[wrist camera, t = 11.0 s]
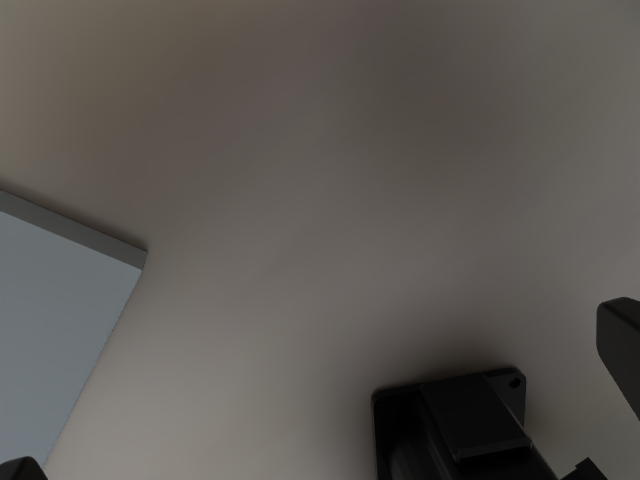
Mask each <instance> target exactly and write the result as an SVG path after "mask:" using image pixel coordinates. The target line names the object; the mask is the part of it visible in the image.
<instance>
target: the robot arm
mask: <svg viewBox="0 0 640 480" xmlns="http://www.w3.org/2000/svg"><path fill="white" fill-rule="evenodd" d="M596 345H597V350H598V353H599V356H600V358H601V360H602V361H603V363H604V365H605V366H606V368H607V369H608V371H609V373H610V374H611V376H612V377H613V379H614V381H615V382H616V384H617V385H618V387H619V389H620V390H621V392H622V393H623V395H624V397H625V398H626V400H627V401H628V403H629V404H630V406H631V408H632V409H633V411H634V412H635V414H636V416H637V417H638V419H639V420H640V301H637V300H634V299H631V298H627V297H620V298H616V299H612V300H609V301H605V302H602V303H601V304H599V306H598V308H597V324H596ZM514 378H516V379H515V380H514V381H513V382H511V383H509V382H510V381H511V380H512V379H514ZM525 395H526V377H525V376H524V375H523V374H522V372H521V371H520V370H519V369H517V368H506V369H500V370H494V371H489V372H483V373H477V374H471V375H465V376H460V377H454V378H448V379H442V380H437V381H431V382H426V383H420V384H415V385H409V386H403V387H398V388H392V389H386V390H381V391H379V392H377V393H375V394H374V395H373V397H372V399H371V412H372V427H373V442H374V457H375V472H376V480H559V479H558V477H557V476H556V475H555V473H554V472H553V471H552V469H551V468H550V466H549V465H548V464H547V462H546V461H545V459H544V458H543V457H542V455H541V454H540V452H539V451H538V450H537V448H536V447H535V445H534V444H533V443H532V440H531V437H530V436H529V435H528V433H527V432H526V431H525V429H524V413H525ZM384 401H388V403H387V404H386V405H380V404H381V403H382V402H384ZM575 467H576V468H577V469H575V470H574V471H572V472H571V473H569V474H568V475H566V476H565V477H563V478H562V479H560V480H608V479H607V478H606V477H605V476H604V475H603V474H602V472H601V471H600V470H599V469H598V468H597V467H596V465H595V464H594V463H593V462H592V461H591V460H590V458H589V457H587V458H586V459H584V460H583V461H582V462H580V463H579V464H577V465H576V466H575ZM0 480H48V478H47V477H46V475H45V474H44V472H43V470H42V469H41V467H40V465H39V464H38V462H37V461H36V460H35V459H34V458H33V457H31V456H24V457H20V458H16V459H13V460H9V461H6V462H3V463H2V464H0Z"/></svg>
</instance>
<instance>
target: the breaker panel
mask: <svg viewBox="0 0 640 480" xmlns="http://www.w3.org/2000/svg"><path fill="white" fill-rule="evenodd" d="M147 253H148V252H146V251H143V250H141V249H139V248H136V247H134V246H132V245H129V244H127V243H125V242H122V241H120V240H118V239H115V238H113V237H110V236H108V235H106V234H103V233H101V232H99V231H96V230H94V229H92V228H89V227H87V226H85V225H82V224H80V223H78V222H75V221H73V220H71V219H68V218H66V217H64V216H61V215H59V214H57V213H54V212H52V211H50V210H47V209H45V208H43V207H40V206H38V205H36V204H33V203H31V202H29V201H26V200H24V199H22V198H19V197H17V196H15V195H12V194H10V193H8V192H5V191H3V190H0V464H2V463H3V462H6V461H9V460H13V459H16V458H20V457H24V456H31V457H33V458H34V459H35V460H36V461H37V462H38V464H39V465H40V467H41V469H42V467H43V465H44V463H45V461H46V459H47V457H48V455H49V454H50V452H51V450H52V448H53V446H54V444H55V442H56V440H57V438H58V436H59V434H60V432H61V430H62V428H63V426H64V424H65V422H66V420H67V418H68V416H69V414H70V412H71V410H72V408H73V406H74V404H75V402H76V400H77V398H78V397H79V395H80V393H81V391H82V389H83V387H84V385H85V383H86V381H87V379H88V377H89V375H90V373H91V371H92V369H93V367H94V365H95V363H96V361H97V359H98V357H99V355H100V353H101V351H102V349H103V347H104V345H105V343H106V342H107V340H108V338H109V336H110V334H111V332H112V330H113V328H114V326H115V324H116V322H117V320H118V318H119V316H120V314H121V312H122V310H123V308H124V306H125V304H126V302H127V300H128V298H129V296H130V294H131V292H132V290H133V288H134V286H135V285H136V283H137V281H138V279H139V277H140V275H141V273H142V271H143V267H144V264H145V260H146V256H147Z"/></svg>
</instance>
